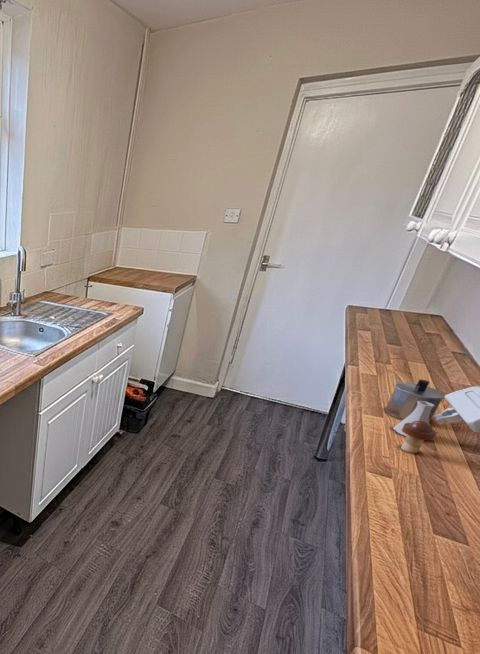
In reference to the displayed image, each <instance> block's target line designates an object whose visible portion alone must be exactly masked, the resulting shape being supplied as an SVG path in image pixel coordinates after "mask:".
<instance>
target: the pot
mask: <svg viewBox="0 0 480 654" xmlns="http://www.w3.org/2000/svg"><path fill="white" fill-rule="evenodd" d="M418 401H426V402H429V403H432V404H433V405H435V406H434V407H432V409H431V411H430V415H429V423H431V421H432V419H434V418H433V416H434V415H436V412H437V410H438V408H439V406H440V405H441V403H442V401H443V399H428V398H422V397H418V396H414V395H410V394H407V393H405V392H402V391H400V390H398V389H397V388H396V387H395V386H394V390H393V392H392V394H391V396H390V398H389V400H388V403H387V405H386V407H385V411H384V412H386V413H387V414H388V415H389V416H391V417H393V418H395V419H397V420H398V419H399V420H401V421H403V420H404V419H405V418H406V417H408V416H409V415H410V414H411V413H412V412H413V411H414V410H415V409H416V407H417V405H418V403H417V402H418Z"/></svg>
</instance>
